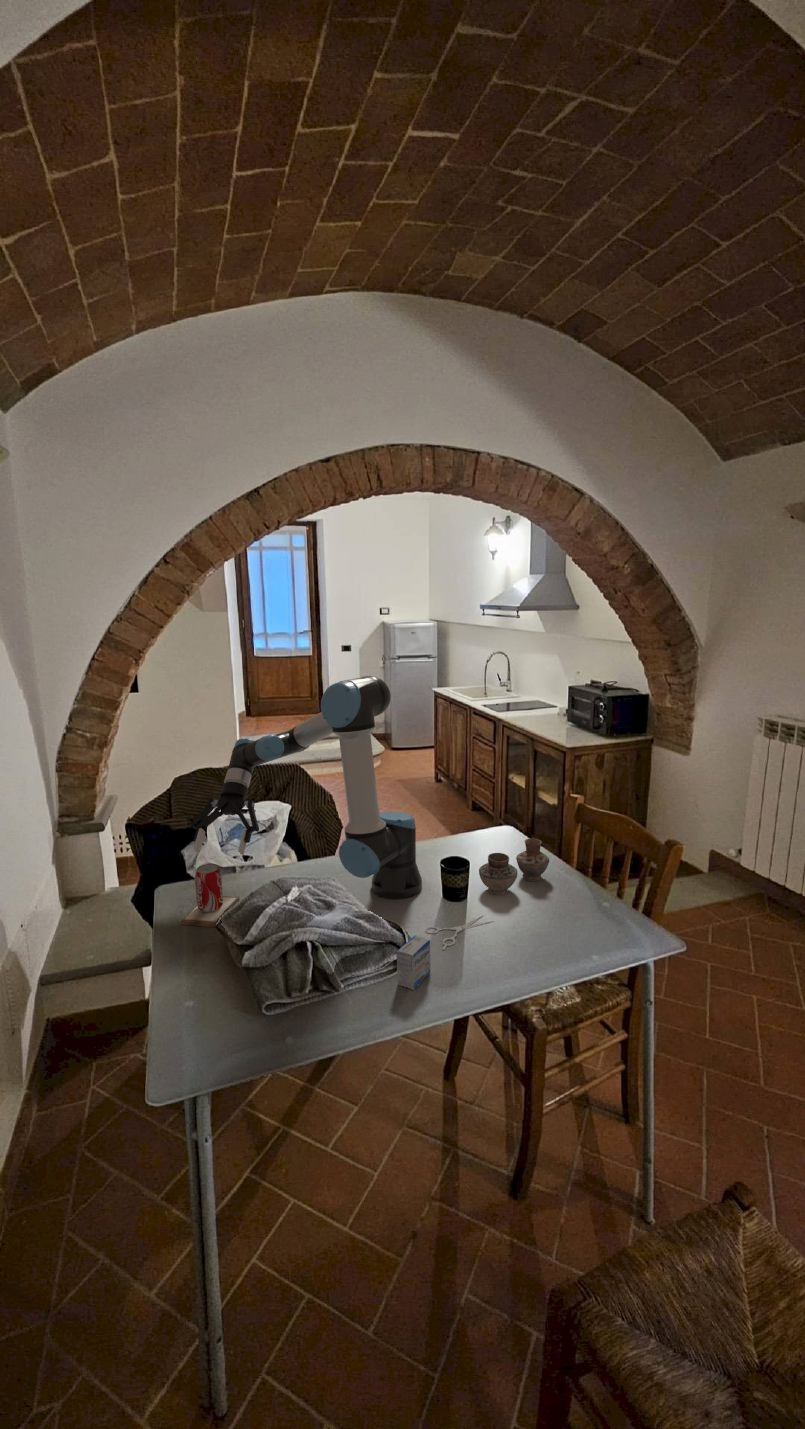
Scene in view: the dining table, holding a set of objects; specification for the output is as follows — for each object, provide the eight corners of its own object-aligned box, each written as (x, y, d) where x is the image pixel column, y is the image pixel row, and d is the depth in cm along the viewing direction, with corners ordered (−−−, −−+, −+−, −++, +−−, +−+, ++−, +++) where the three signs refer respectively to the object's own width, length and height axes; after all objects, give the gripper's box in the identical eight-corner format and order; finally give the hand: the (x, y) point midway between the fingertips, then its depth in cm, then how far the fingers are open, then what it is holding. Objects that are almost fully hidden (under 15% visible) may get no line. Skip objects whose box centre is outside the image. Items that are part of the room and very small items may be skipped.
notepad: (239, 900, 182) (239, 896, 181) (215, 927, 167) (215, 923, 167) (207, 897, 183) (207, 894, 183) (181, 924, 169) (180, 920, 169)
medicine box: (413, 991, 139) (413, 956, 138) (396, 984, 142) (396, 950, 140) (431, 972, 146) (430, 939, 144) (414, 967, 148) (414, 933, 146)
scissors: (418, 931, 163) (477, 908, 174) (418, 933, 163) (477, 910, 174) (443, 949, 155) (503, 924, 165) (443, 952, 155) (503, 927, 166)
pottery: (556, 879, 192) (557, 843, 189) (497, 903, 178) (497, 864, 175) (529, 866, 201) (530, 831, 198) (470, 888, 187) (471, 851, 184)
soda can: (219, 914, 172) (216, 873, 169) (193, 914, 172) (190, 873, 169) (226, 901, 178) (224, 862, 176) (202, 901, 179) (199, 862, 176)
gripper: (278, 792, 192) (263, 858, 181) (202, 790, 196) (183, 854, 185) (271, 781, 186) (255, 848, 174) (193, 779, 190) (172, 845, 178)
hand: (218, 852), depth 179 cm, fingers open, 13 cm apart
